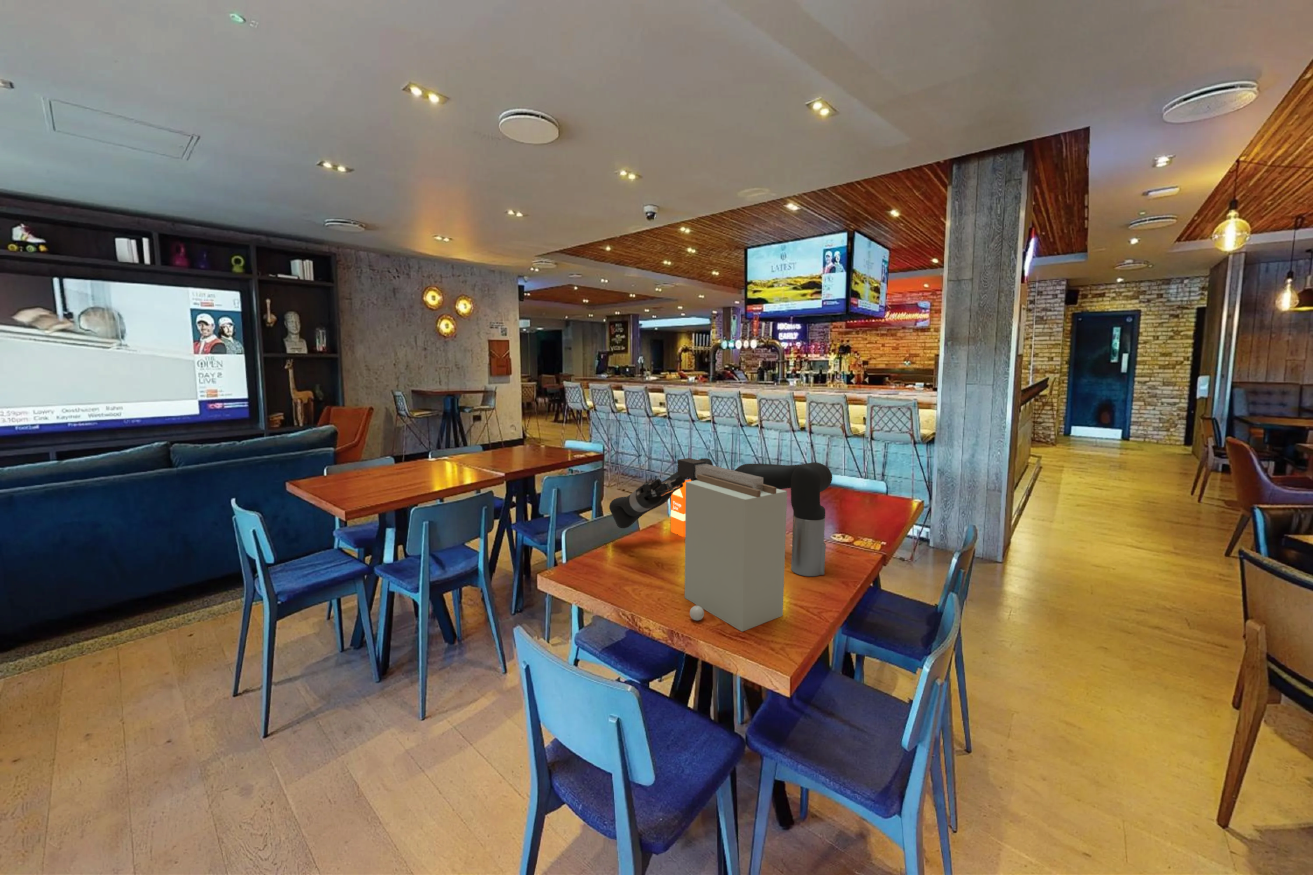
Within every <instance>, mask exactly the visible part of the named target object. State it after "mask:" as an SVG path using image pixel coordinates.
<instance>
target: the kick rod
mask: <svg viewBox="0 0 1313 875" xmlns="http://www.w3.org/2000/svg"><path fill="white" fill-rule="evenodd" d="M676 463H677V468H676V469H677V471H676V472H677V475H679V476H683V477H686V478H687V479H689V480H691V479H697V475H698V474H701V475H705V476H709V477H713V478H716V479H720V480H724V481H727V482H731V483H735V484H739V485H742V486H746V487H750V488H754V489H757V490H761V492H763V477H759V476H755V475H750V474H746V473H742V472H738V471H734V470H735V469H734V470H733V469H729V468H726V467H721V466H716V465H714V464H713V465H709V464H706V462H705V461H700V460H699V459H696V458H691V457H687V458H681V459H680V458H678V459H677V462H676Z"/></svg>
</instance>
